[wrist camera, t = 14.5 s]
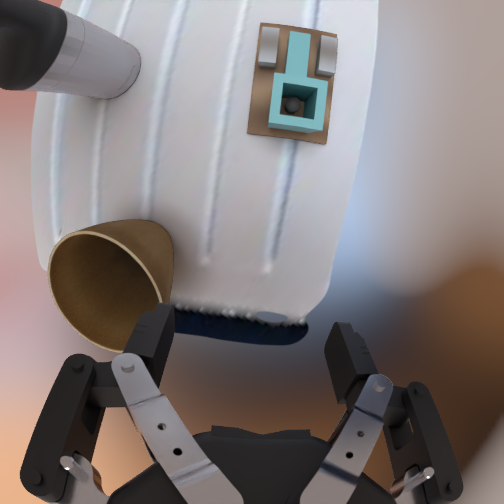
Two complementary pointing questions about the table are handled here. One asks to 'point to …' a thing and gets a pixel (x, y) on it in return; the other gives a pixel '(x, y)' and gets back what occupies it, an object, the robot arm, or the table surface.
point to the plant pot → (111, 278)
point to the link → (298, 89)
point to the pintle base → (274, 61)
